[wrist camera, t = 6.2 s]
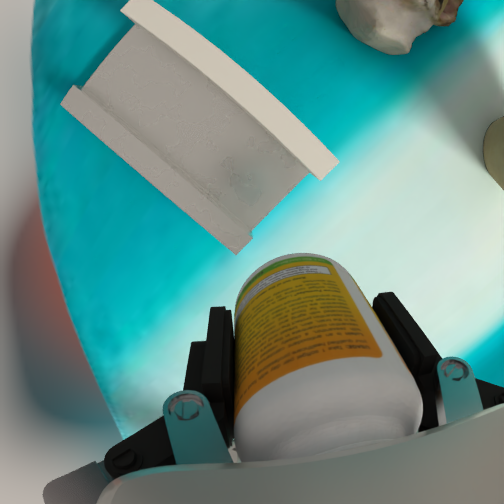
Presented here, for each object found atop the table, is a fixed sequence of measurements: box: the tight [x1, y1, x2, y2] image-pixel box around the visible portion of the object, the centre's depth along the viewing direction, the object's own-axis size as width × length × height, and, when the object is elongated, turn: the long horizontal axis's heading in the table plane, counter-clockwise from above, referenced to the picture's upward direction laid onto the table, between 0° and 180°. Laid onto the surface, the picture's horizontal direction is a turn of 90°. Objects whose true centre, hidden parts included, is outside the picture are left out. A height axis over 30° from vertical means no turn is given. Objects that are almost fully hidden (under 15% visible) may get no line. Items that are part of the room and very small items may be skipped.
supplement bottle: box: [234, 253, 423, 462], centre depth 9 cm, size 5×5×10 cm
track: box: [60, 0, 339, 255], centre depth 23 cm, size 20×11×5 cm, turn 47°
